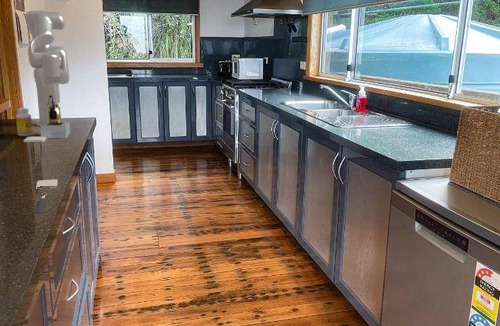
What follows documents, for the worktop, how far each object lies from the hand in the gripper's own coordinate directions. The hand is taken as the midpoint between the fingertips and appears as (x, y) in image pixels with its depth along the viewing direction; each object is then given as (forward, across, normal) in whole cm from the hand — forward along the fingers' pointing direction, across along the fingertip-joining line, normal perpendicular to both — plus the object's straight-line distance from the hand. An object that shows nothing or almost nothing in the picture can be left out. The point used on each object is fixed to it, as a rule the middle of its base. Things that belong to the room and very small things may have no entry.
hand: (54, 117), depth 222 cm
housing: (+9, 0, 0) cm, 9 cm away
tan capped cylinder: (+5, 0, 0) cm, 5 cm away
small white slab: (+8, +96, +16) cm, 98 cm away
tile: (+9, +11, -7) cm, 16 cm away
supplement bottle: (+9, -3, -15) cm, 18 cm away
